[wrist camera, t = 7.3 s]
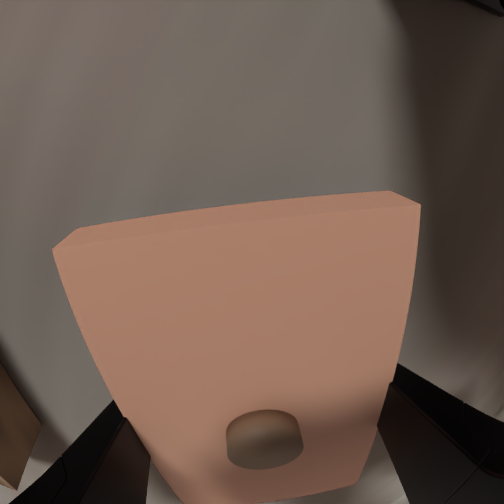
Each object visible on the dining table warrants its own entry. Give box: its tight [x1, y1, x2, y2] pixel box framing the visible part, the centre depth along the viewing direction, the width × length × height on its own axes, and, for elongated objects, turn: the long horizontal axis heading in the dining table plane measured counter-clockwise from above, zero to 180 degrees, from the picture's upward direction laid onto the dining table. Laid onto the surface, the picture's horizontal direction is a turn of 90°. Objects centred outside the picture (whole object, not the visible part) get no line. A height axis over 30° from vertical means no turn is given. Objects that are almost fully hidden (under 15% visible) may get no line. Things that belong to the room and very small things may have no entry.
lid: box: [52, 191, 421, 504], centre depth 8 cm, size 11×7×3 cm, turn 5°
